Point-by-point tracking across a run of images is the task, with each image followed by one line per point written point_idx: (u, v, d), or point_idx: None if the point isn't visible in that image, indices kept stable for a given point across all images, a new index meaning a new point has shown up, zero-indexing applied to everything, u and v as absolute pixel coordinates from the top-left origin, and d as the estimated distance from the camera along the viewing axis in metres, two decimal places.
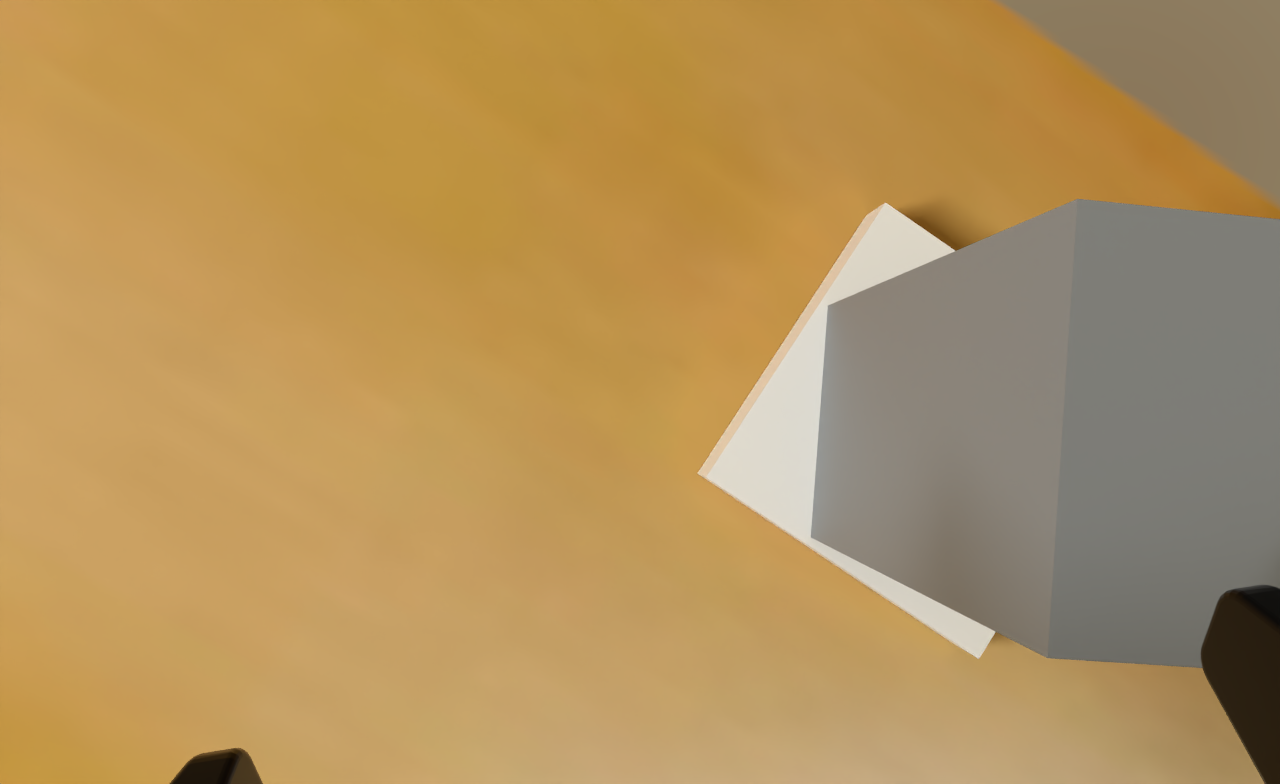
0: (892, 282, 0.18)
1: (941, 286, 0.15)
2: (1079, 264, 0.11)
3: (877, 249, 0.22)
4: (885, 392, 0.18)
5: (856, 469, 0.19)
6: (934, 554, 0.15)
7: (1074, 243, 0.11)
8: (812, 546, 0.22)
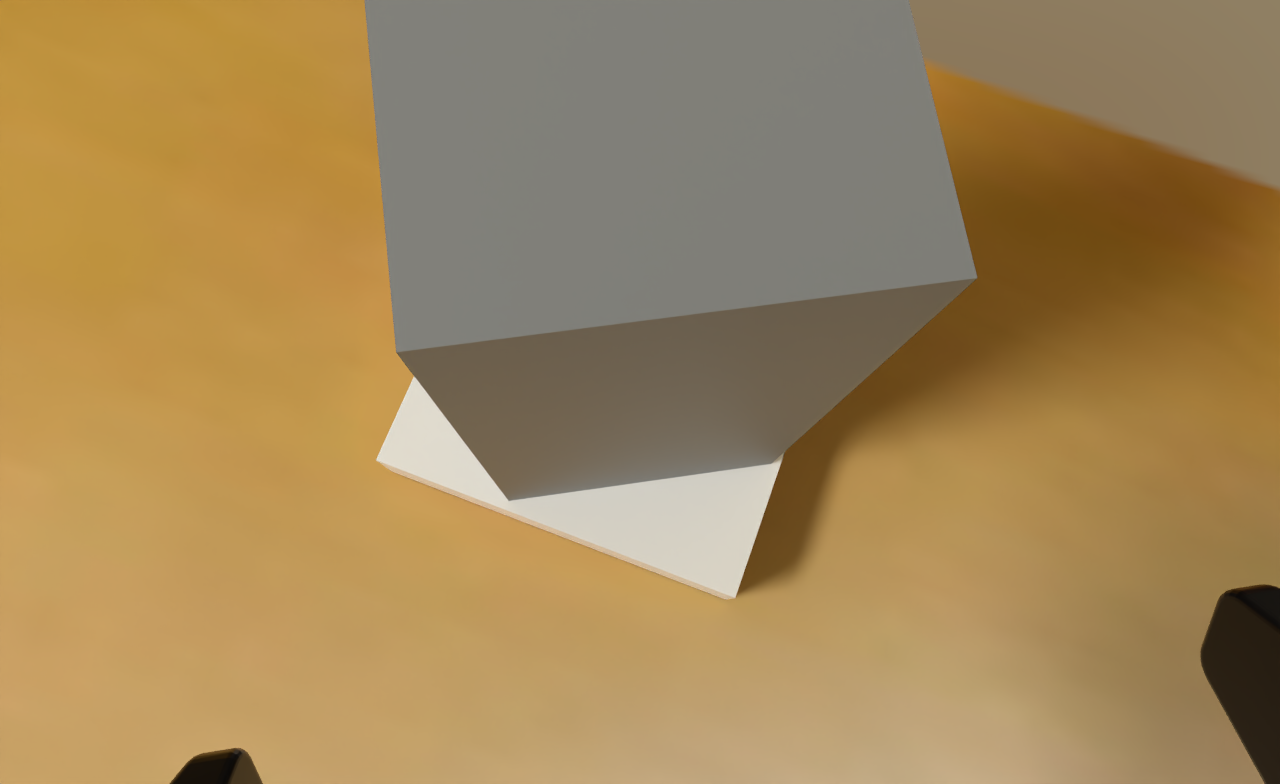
0: None
1: None
2: None
3: None
4: None
5: None
6: None
7: None
8: (513, 510, 0.19)
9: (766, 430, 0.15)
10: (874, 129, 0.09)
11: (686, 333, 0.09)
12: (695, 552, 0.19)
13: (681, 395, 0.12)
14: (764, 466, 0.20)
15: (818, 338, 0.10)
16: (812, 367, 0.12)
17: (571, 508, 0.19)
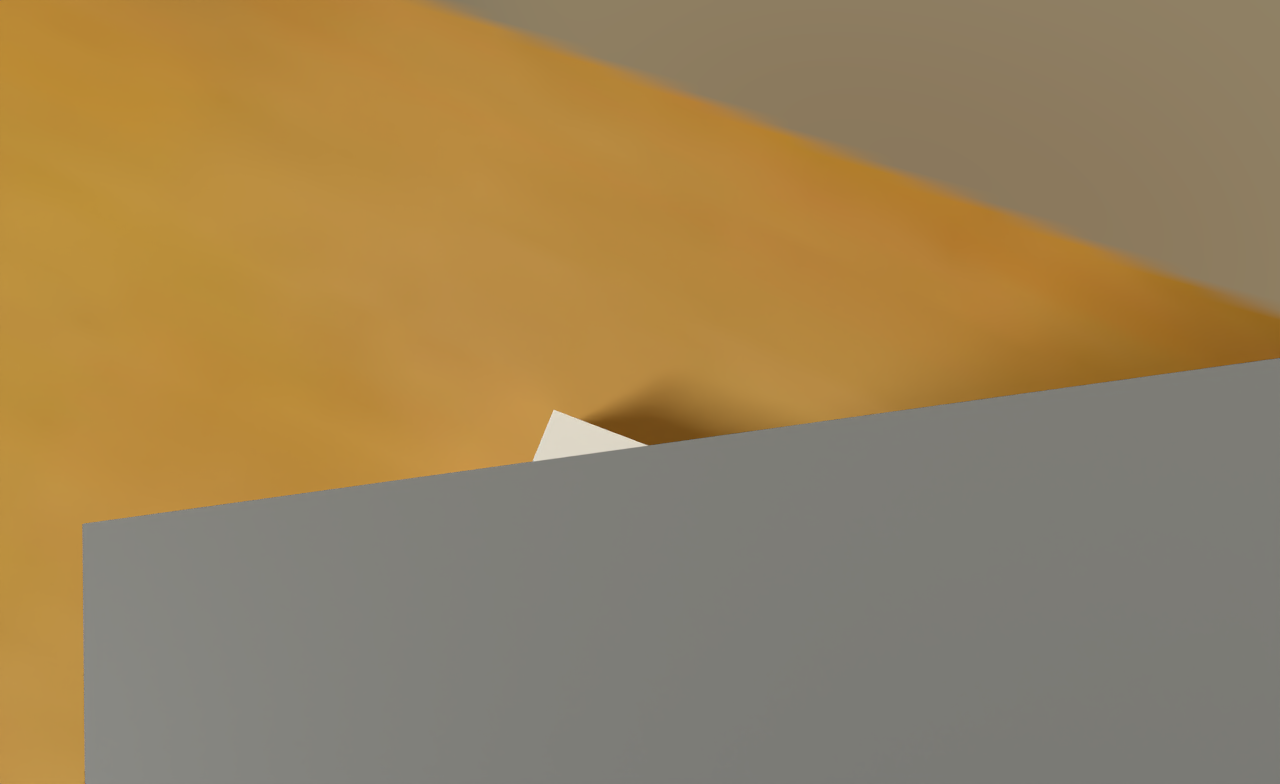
0: None
1: None
2: None
3: None
4: None
5: None
6: None
7: (116, 702, 0.03)
8: None
9: None
10: None
11: None
12: None
13: None
14: None
15: None
16: None
17: None
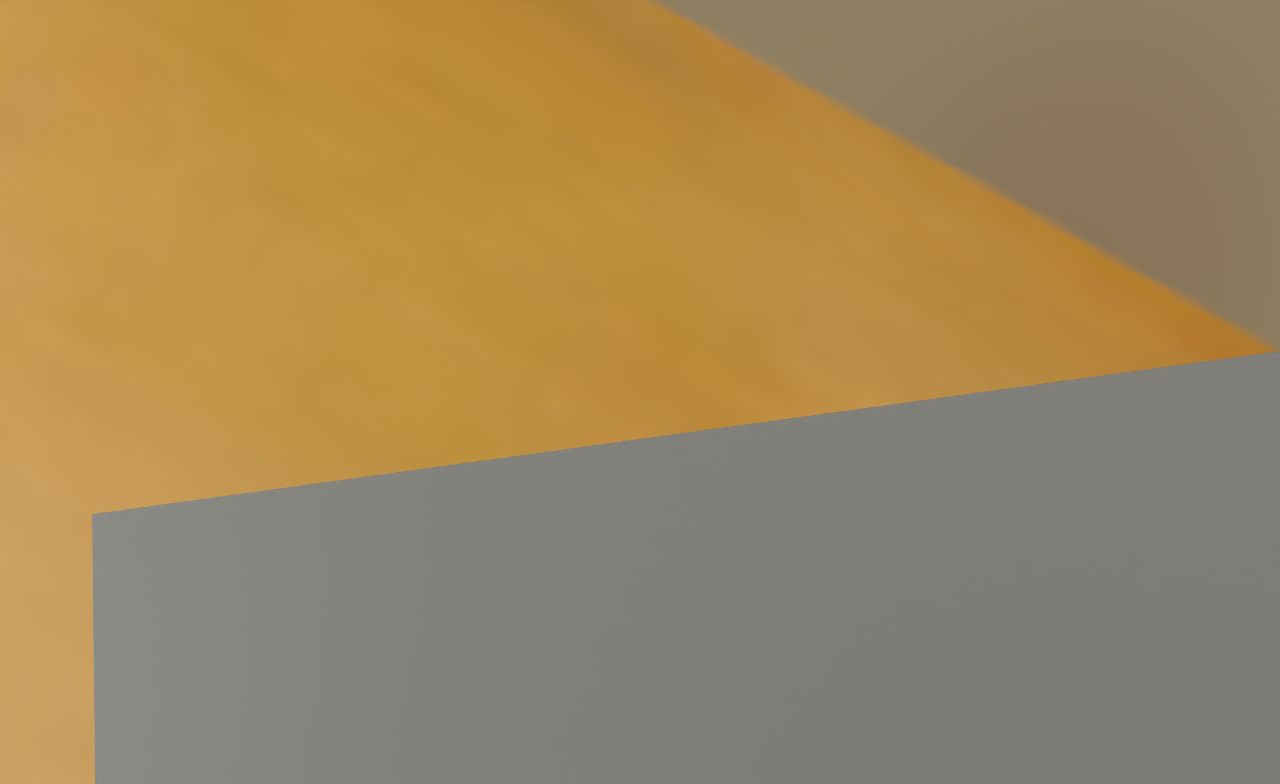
0: None
1: None
2: (151, 780, 0.03)
3: None
4: None
5: None
6: None
7: (125, 692, 0.03)
8: None
9: None
10: None
11: None
12: None
13: None
14: None
15: None
16: None
17: None
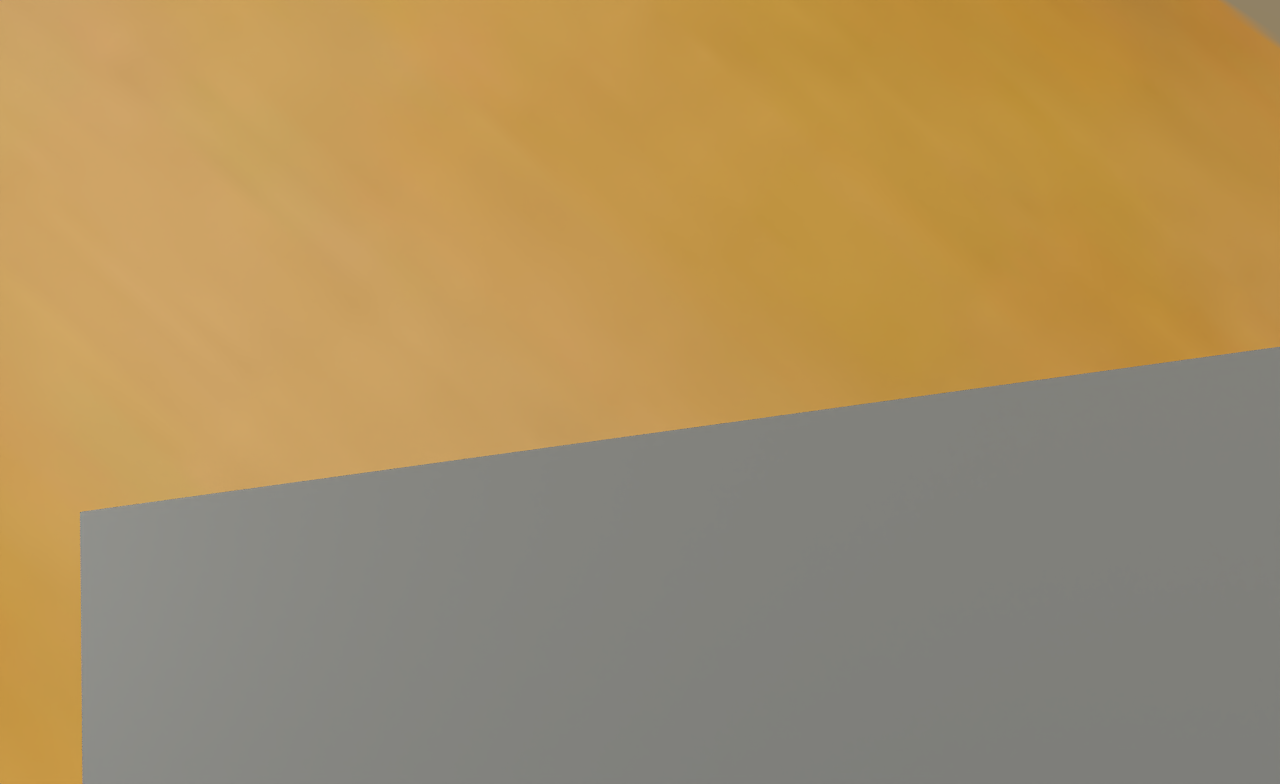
0: None
1: None
2: (139, 779, 0.03)
3: None
4: None
5: None
6: None
7: (113, 691, 0.03)
8: None
9: None
10: None
11: None
12: None
13: None
14: None
15: None
16: None
17: None
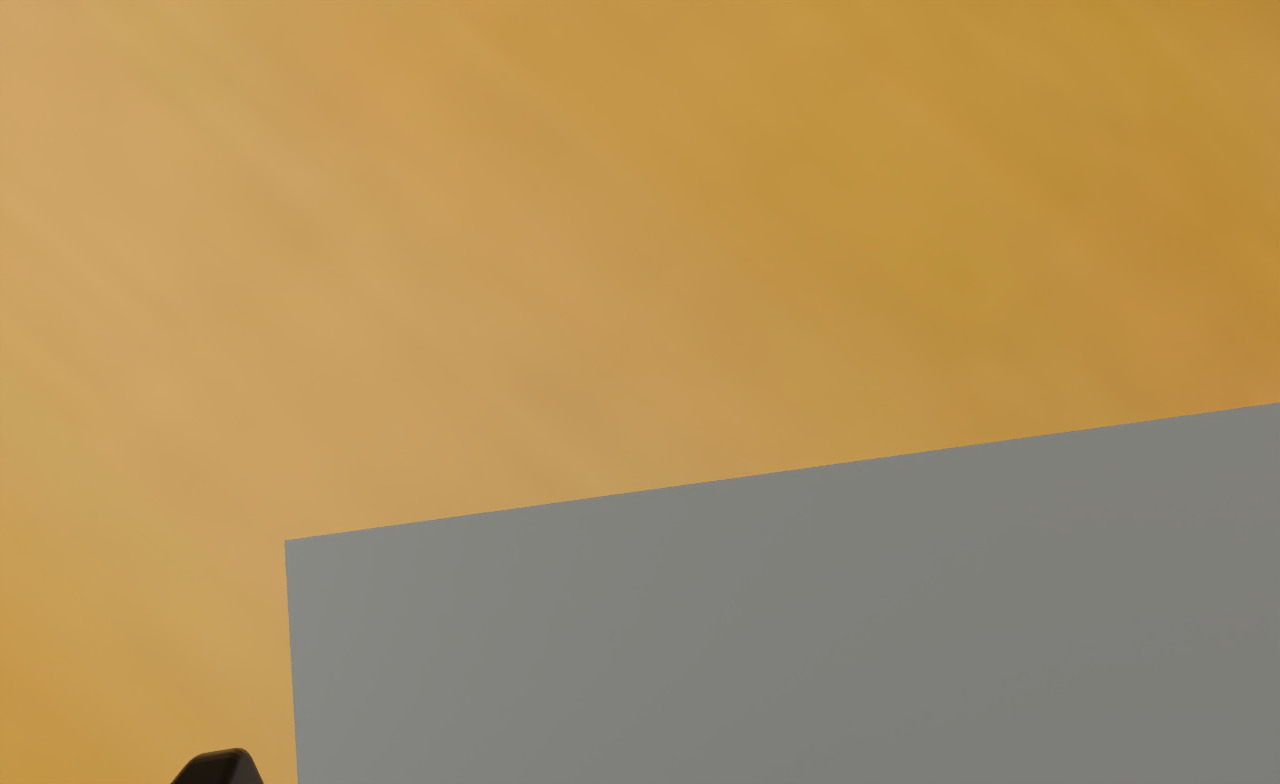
0: None
1: None
2: (322, 695, 0.05)
3: None
4: None
5: None
6: None
7: (305, 645, 0.05)
8: None
9: None
10: None
11: None
12: None
13: None
14: None
15: None
16: None
17: None
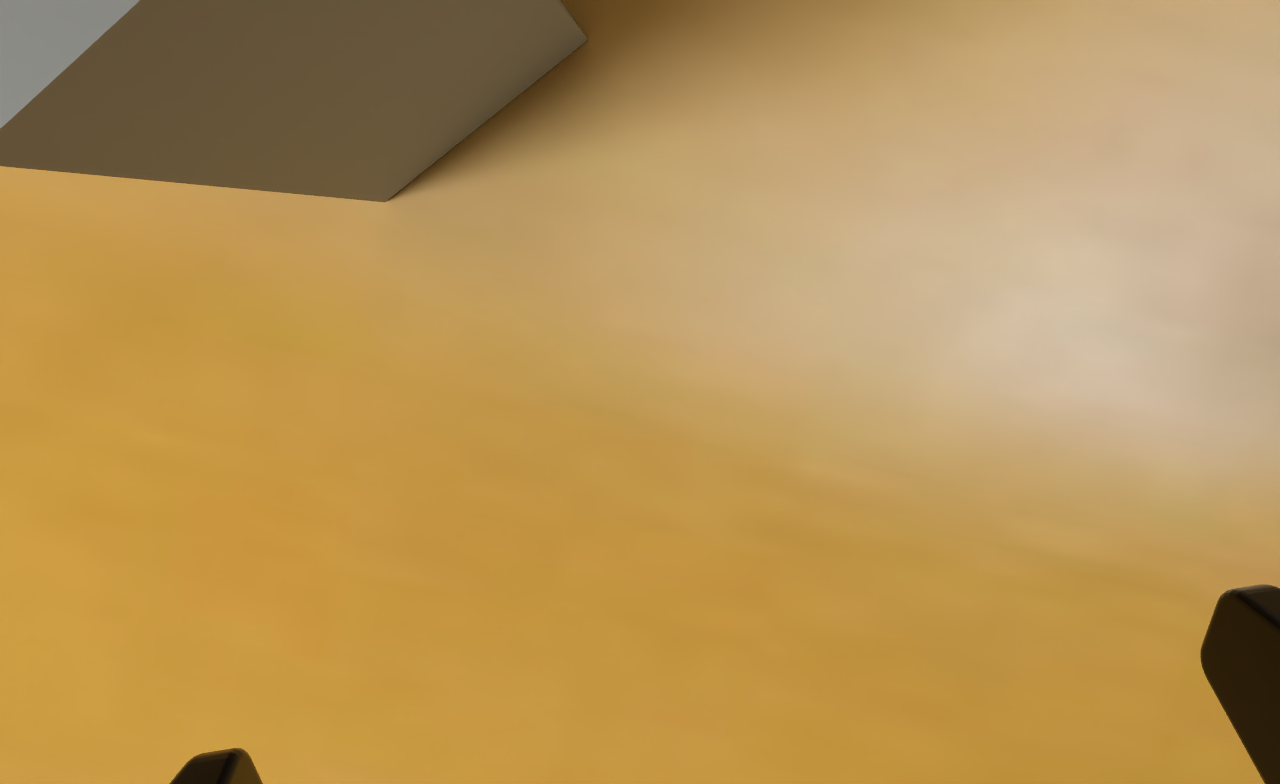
0: None
1: None
2: None
3: None
4: None
5: None
6: None
7: None
8: None
9: (502, 20, 0.15)
10: None
11: (192, 1, 0.09)
12: None
13: (328, 44, 0.12)
14: None
15: None
16: None
17: None
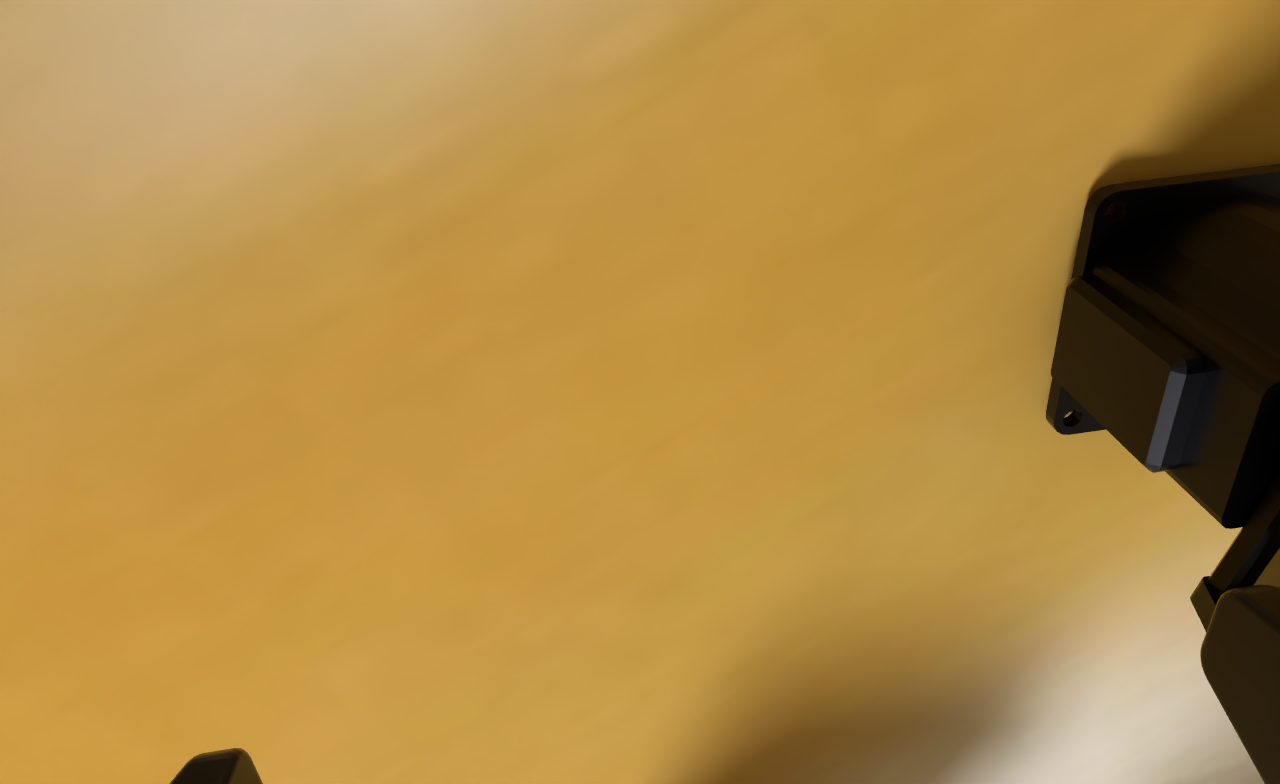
0: None
1: None
2: None
3: None
4: None
5: None
6: None
7: None
8: None
9: None
10: None
11: None
12: None
13: None
14: None
15: None
16: None
17: None
